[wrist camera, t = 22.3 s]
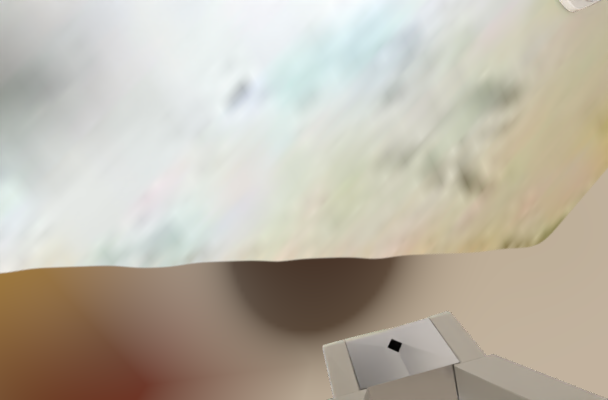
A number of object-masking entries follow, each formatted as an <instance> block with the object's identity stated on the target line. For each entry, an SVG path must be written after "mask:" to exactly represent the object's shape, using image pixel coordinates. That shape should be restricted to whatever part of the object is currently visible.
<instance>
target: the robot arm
mask: <svg viewBox="0 0 608 400" xmlns="http://www.w3.org/2000/svg"><path fill="white" fill-rule="evenodd" d="M559 1H560V2H561V4H562V5H563V6H564V7H565V8H566V9H567V10H568V11H571V12H576V11H579V10H581V9H584V8H586V7H588V6H590V5H592V4H594V3H596V2H598V1H601V0H559ZM344 340H345V341H344ZM344 340H340V341H337V342H333V343H329V344H326V345H323V353H324V357H325V361H326V366H327V371H328V376H329V380H330V385H331V389H332V394H333V398H331V399H328V400H608V399H607V398H604V397H602V396H599V395H597V394H594V393H592V392H589V391H586V390H584V389H581V388H578V387H576V386H573V385H571V384H569V383H566V382H563V381H561V380H558V379H556V378H553V377H551V376H548V375H546V374H543V373H541V372H538V371H535V370H533V369H530V368H528V367H525V366H523V365H520V364H518V363H515V362H512V361H510V360H507V359H505V358H502V357H499V356H497V355H495V354H491V355H488V356H487V355H486V354H485V353H484V352H483V351H482V349H481V348H480V347H479V346H478V345H477V343H476V342H475V341H474V340H473V338H472V337H471V336H470V335H469V334H468V332H467V331H466V330H465V329H464V327H463V326H462V325H461V324H460V323H459V322H458V320H457V319H456V318H455V317H454V315H453V314H452V313H451V312H449V311H446V312H442V313H439V314H436V315H433V316H429V317H427V318H425V319H422V320H418V321H415V322H411V323H407V324H404V325H400V326H397V327H393V328H390V329H384V330H380V331H376V332H372V333H368V334H364V335H360V336H356V337H352V338H348V339H344Z"/></svg>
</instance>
